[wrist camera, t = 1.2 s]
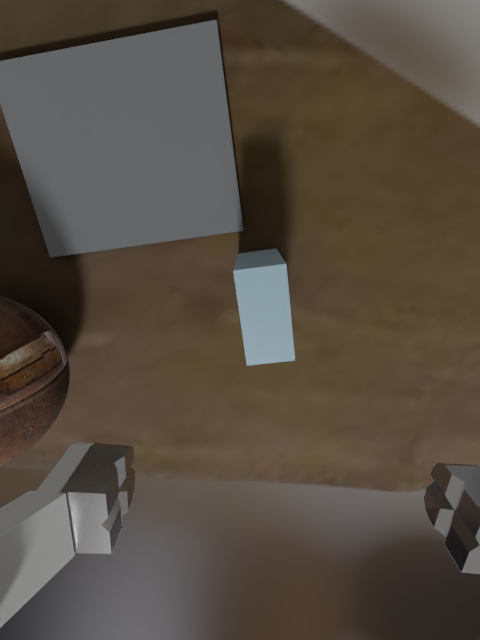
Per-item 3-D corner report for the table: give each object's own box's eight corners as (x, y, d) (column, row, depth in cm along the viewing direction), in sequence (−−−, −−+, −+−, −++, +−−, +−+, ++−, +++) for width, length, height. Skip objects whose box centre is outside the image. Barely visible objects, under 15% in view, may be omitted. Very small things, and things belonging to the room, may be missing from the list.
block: (276, 248, 29) (286, 263, 21) (283, 320, 31) (294, 360, 23) (238, 253, 29) (233, 270, 21) (248, 324, 32) (246, 365, 23)
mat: (217, 25, 24) (216, 19, 23) (243, 230, 29) (243, 230, 28) (-5, 67, 25) (-13, 63, 25) (55, 256, 30) (50, 257, 29)
